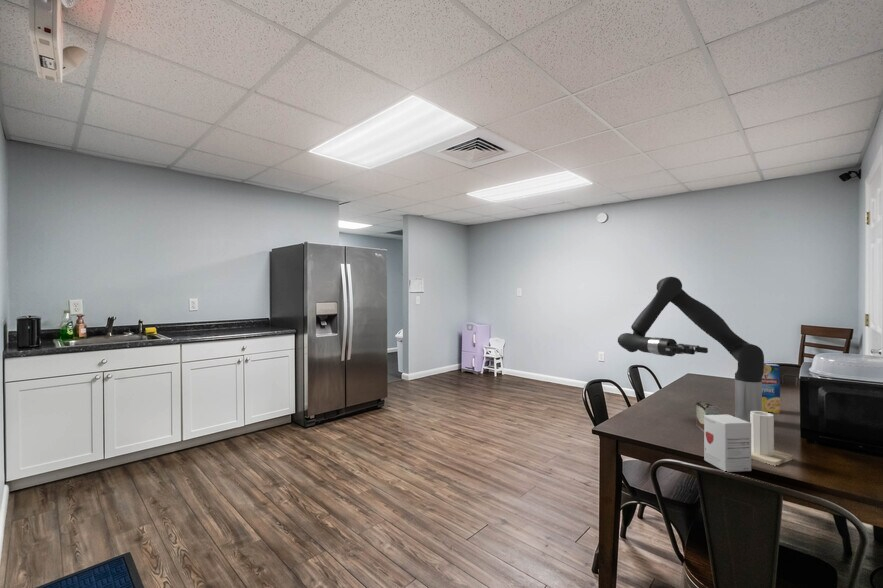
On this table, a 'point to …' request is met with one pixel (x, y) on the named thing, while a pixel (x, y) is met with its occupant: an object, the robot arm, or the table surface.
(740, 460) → the supplement box
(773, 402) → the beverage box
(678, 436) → the table surface
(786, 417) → the table surface
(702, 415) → the food container
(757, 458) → the stand
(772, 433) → the roll
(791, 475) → the table surface
